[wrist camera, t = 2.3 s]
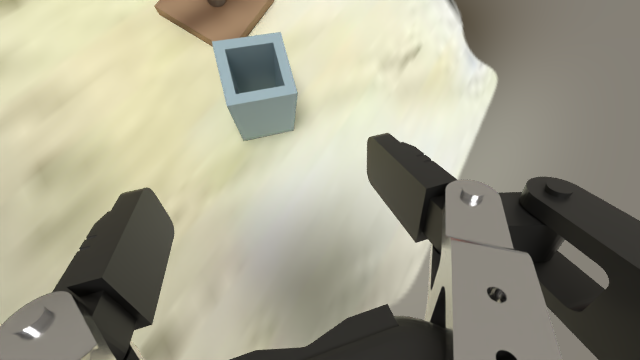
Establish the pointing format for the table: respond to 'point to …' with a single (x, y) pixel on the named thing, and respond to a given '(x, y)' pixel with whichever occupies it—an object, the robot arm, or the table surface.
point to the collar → (257, 84)
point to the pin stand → (214, 16)
